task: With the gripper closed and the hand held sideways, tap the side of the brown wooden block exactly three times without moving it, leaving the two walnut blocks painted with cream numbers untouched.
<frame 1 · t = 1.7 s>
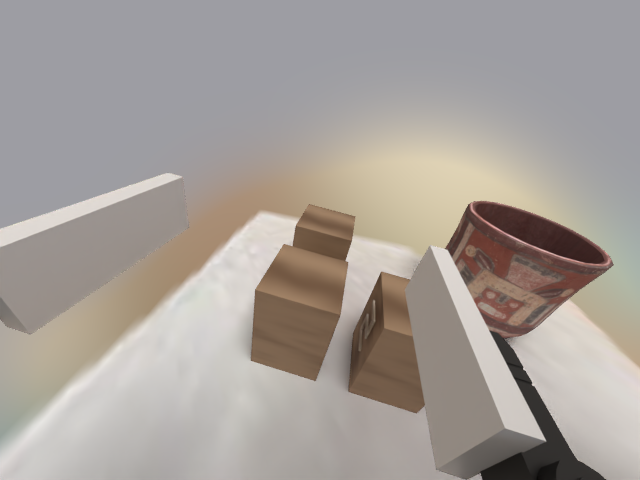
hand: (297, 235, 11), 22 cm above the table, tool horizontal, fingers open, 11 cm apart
walnut block marked 2: (381, 368, 30), on the table
pottery: (465, 309, 43), on the table
walnut block marked 1: (314, 278, 41), on the table
brown wooden block: (292, 341, 30), on the table
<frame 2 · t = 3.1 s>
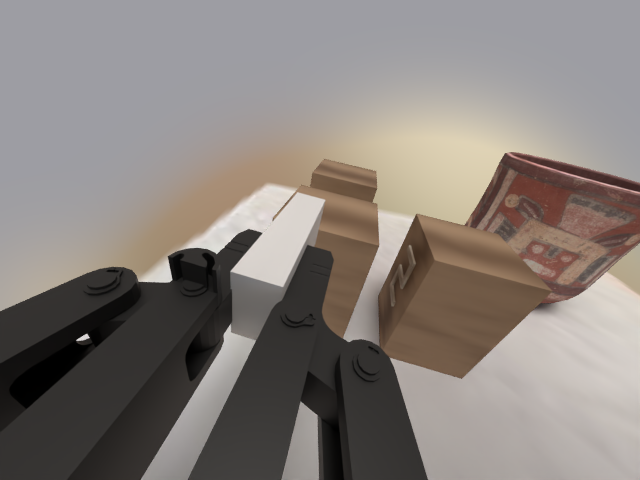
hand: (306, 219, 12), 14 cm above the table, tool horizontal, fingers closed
walnut block marked 2: (414, 331, 26), on the table
pottery: (497, 277, 38), on the table
walnut block marked 1: (329, 244, 37), on the table
brown wooden block: (311, 302, 26), on the table
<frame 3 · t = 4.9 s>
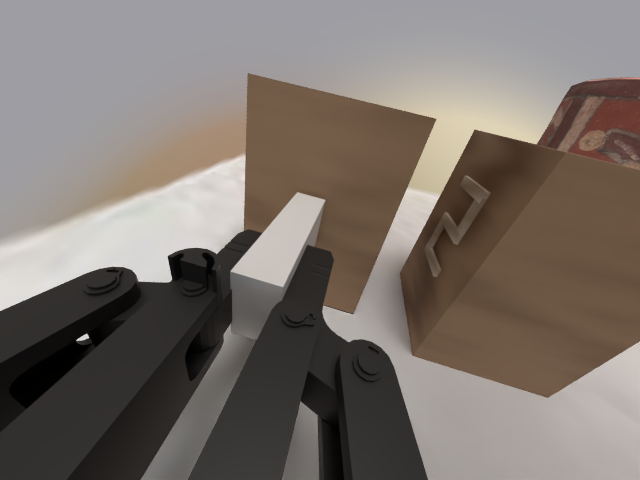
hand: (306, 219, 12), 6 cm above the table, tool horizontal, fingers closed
walnut block marked 2: (458, 322, 17), on the table
pottery: (546, 259, 30), on the table
brown wooden block: (310, 263, 19), on the table, touching gripper
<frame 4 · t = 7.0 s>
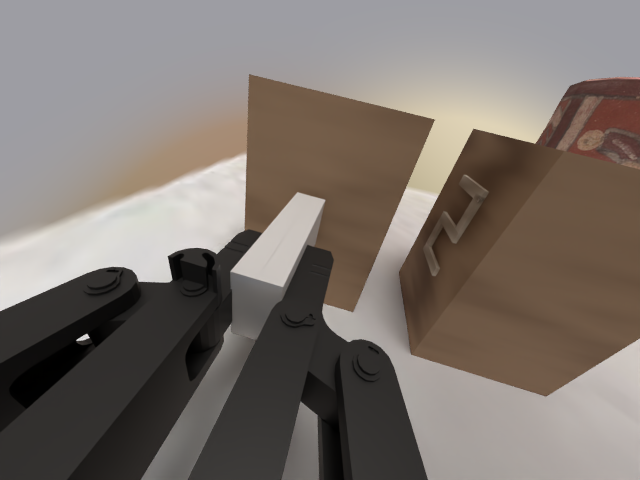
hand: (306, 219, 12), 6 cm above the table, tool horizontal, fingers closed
walnut block marked 2: (456, 321, 17), on the table
pottery: (544, 259, 30), on the table
brown wooden block: (310, 262, 19), on the table
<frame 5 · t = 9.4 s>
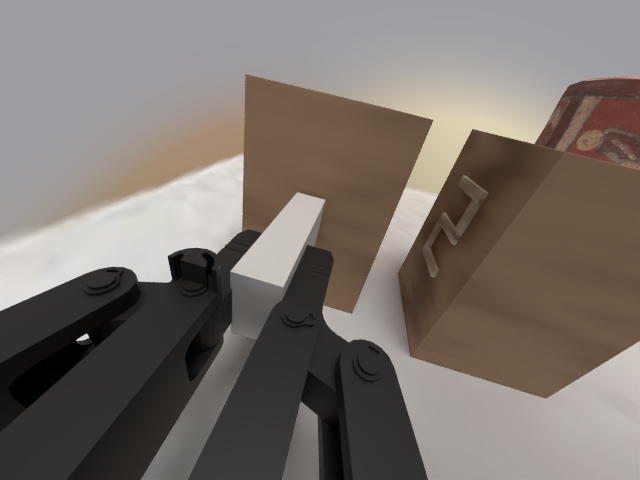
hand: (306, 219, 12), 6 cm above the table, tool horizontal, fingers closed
walnut block marked 2: (456, 322, 17), on the table
pottery: (543, 259, 30), on the table
brown wooden block: (309, 263, 19), on the table
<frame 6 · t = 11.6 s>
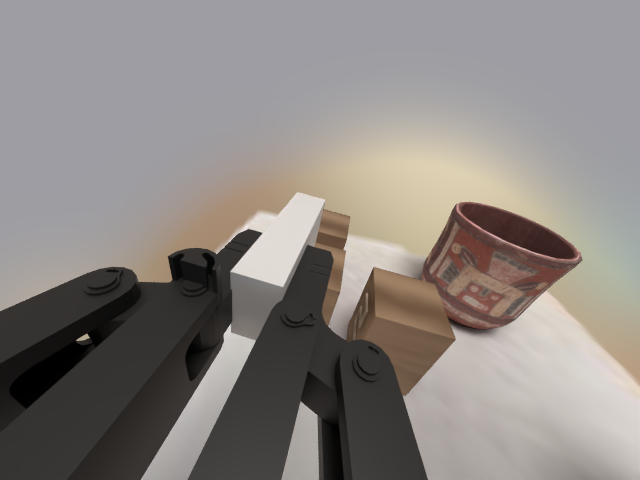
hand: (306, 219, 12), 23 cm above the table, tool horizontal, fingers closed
walnut block marked 2: (373, 356, 32), on the table
pottery: (453, 303, 45), on the table
walnut block marked 1: (311, 274, 44), on the table
brown wooden block: (296, 321, 34), on the table
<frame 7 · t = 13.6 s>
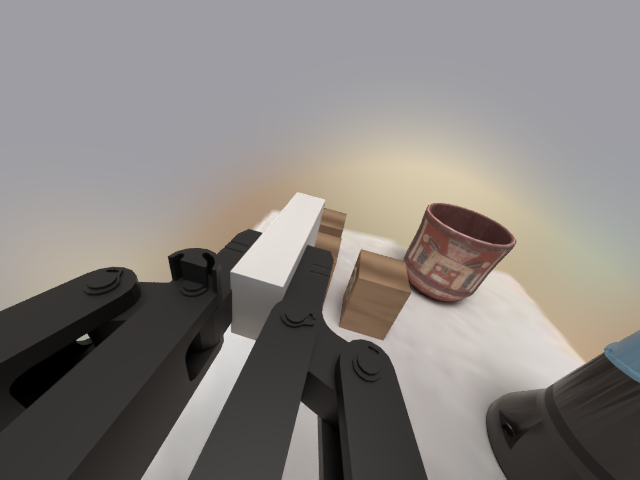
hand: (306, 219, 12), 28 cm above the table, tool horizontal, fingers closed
walnut block marked 2: (361, 316, 44), on the table
pottery: (429, 284, 57), on the table
walnut block marked 1: (316, 259, 55), on the table
brown wooden block: (305, 291, 46), on the table
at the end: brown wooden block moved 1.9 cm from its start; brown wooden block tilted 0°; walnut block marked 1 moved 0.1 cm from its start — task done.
